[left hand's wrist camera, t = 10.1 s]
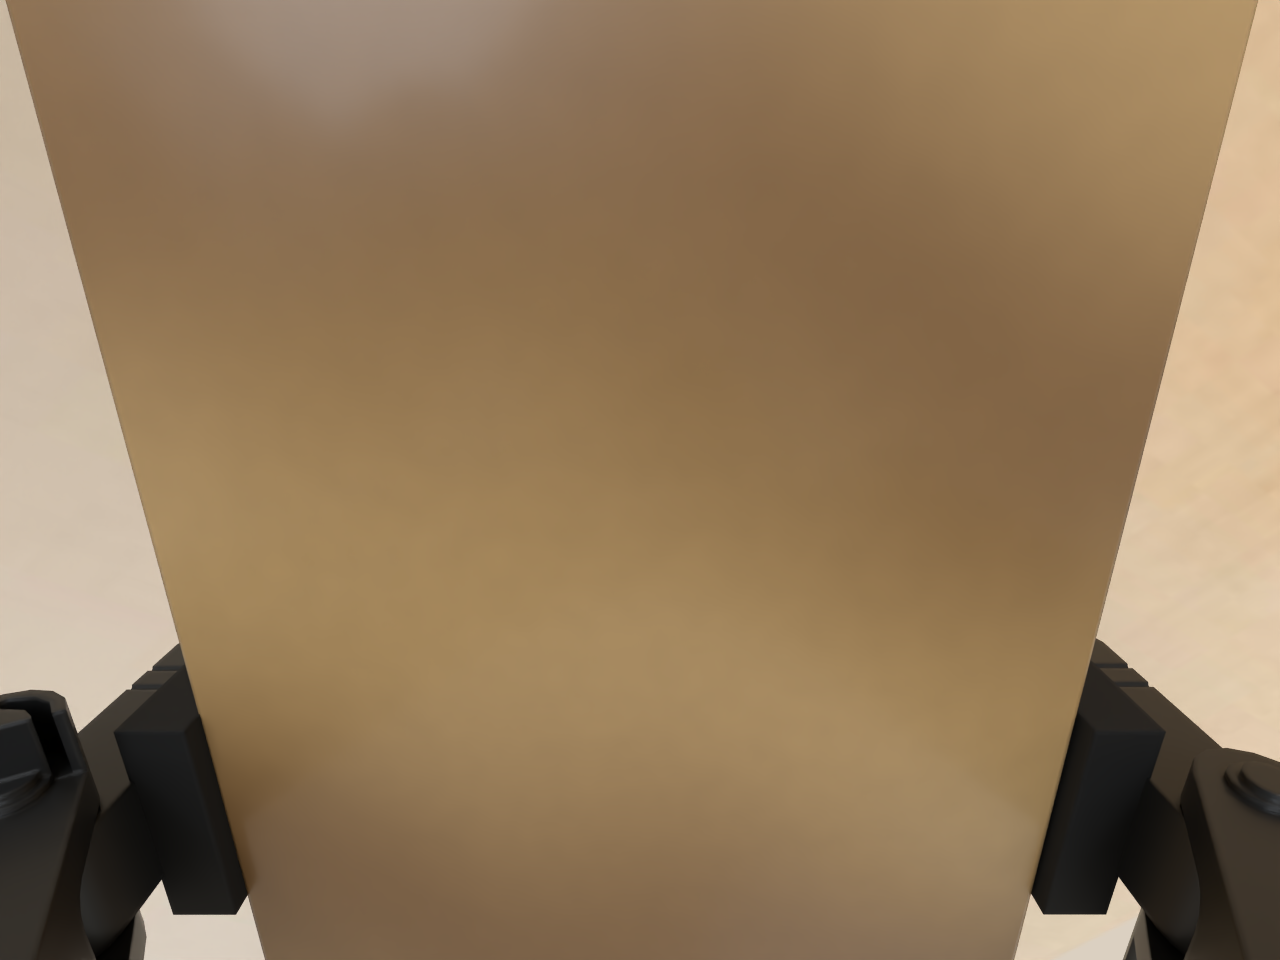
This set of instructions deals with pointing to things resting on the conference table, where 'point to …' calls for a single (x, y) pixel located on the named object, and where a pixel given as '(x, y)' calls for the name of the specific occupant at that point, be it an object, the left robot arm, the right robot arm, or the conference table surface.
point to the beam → (635, 439)
